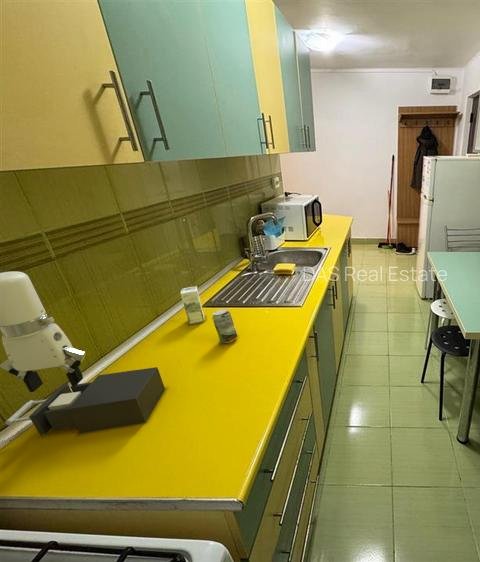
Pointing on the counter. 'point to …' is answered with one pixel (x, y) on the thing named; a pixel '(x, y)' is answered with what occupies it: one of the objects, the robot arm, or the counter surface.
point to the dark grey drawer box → (117, 400)
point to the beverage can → (224, 325)
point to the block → (64, 400)
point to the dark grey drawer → (49, 412)
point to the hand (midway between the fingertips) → (57, 385)
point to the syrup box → (192, 305)
